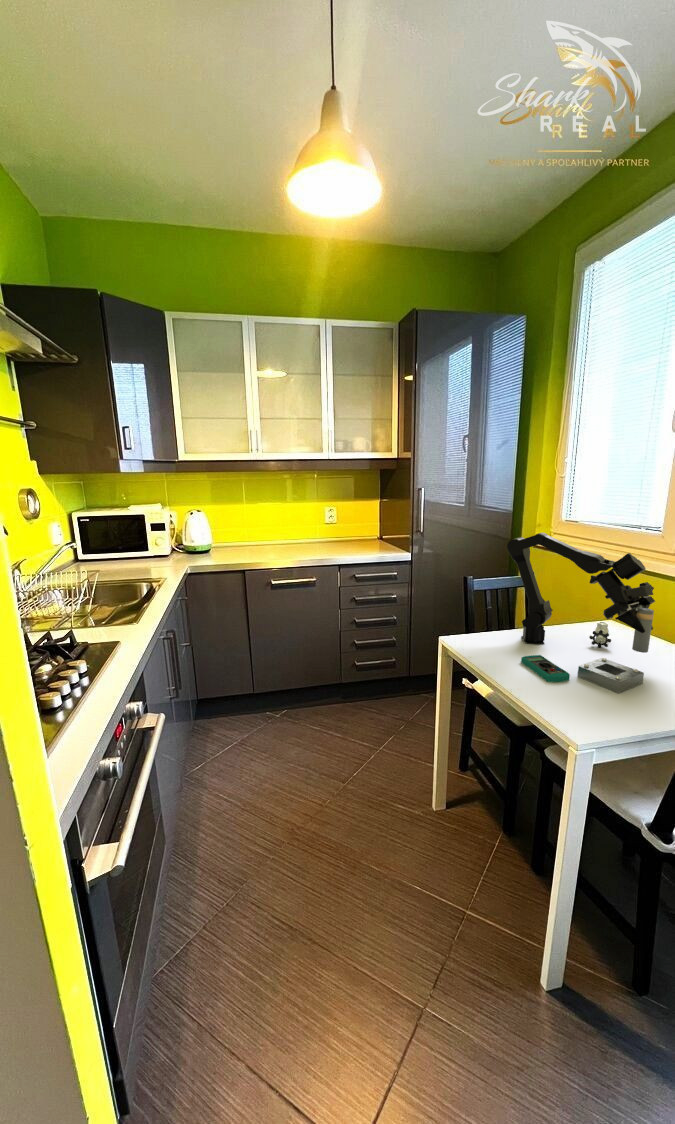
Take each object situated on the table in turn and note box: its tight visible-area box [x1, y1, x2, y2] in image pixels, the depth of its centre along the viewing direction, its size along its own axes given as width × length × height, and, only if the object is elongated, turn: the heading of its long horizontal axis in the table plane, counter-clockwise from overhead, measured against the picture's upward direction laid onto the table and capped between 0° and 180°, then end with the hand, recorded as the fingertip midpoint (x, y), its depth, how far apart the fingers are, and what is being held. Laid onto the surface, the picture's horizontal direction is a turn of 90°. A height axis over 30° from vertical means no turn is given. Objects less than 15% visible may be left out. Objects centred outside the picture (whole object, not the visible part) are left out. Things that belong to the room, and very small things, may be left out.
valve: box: [589, 620, 612, 649], centre depth 154 cm, size 7×7×12 cm
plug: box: [631, 608, 655, 654], centre depth 129 cm, size 4×4×13 cm
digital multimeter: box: [520, 654, 571, 683], centre depth 132 cm, size 7×15×3 cm, turn 9°
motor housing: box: [577, 657, 645, 694], centre depth 125 cm, size 12×12×4 cm
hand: (647, 631), depth 128 cm, fingers closed on plug, 4 cm apart
